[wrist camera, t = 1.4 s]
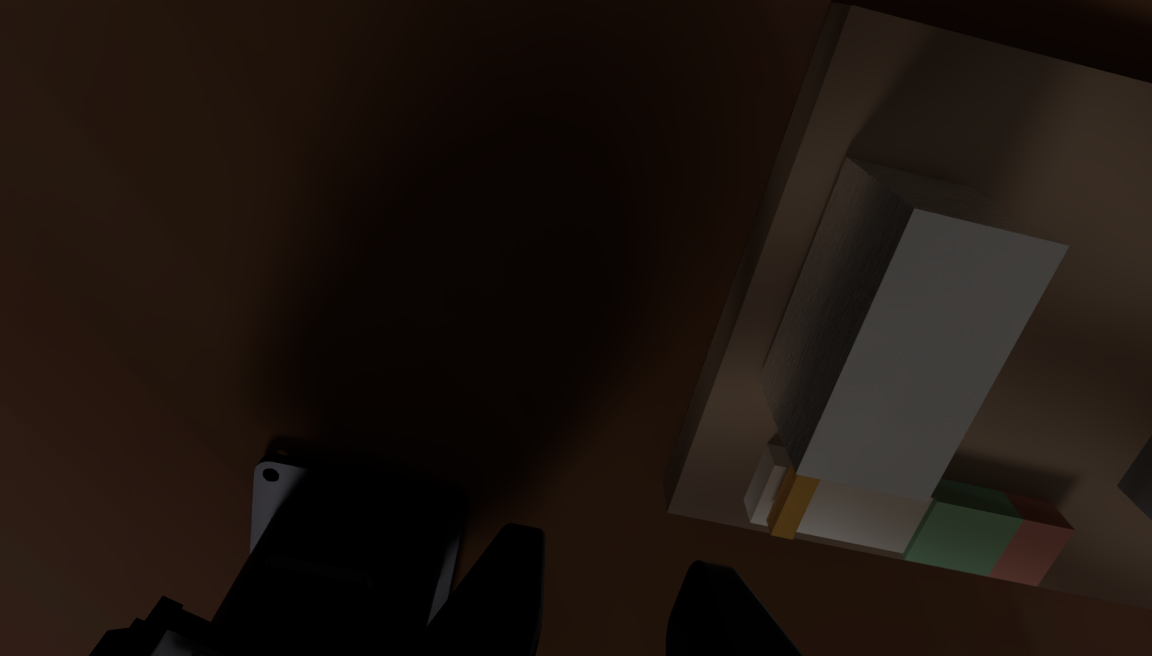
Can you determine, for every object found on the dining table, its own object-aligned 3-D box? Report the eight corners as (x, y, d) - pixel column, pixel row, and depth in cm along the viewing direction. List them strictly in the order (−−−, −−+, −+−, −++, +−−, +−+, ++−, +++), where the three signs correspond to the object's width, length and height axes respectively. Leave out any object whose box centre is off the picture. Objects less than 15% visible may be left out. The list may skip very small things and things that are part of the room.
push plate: (818, 506, 21) (864, 616, 18) (717, 485, 21) (742, 592, 17) (969, 186, 17) (1069, 245, 14) (846, 156, 17) (914, 208, 13)
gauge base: (1134, 576, 24) (1271, 731, 19) (662, 480, 23) (681, 620, 18) (1445, 162, 18) (1756, 234, 13) (831, 1, 17) (927, 16, 12)
